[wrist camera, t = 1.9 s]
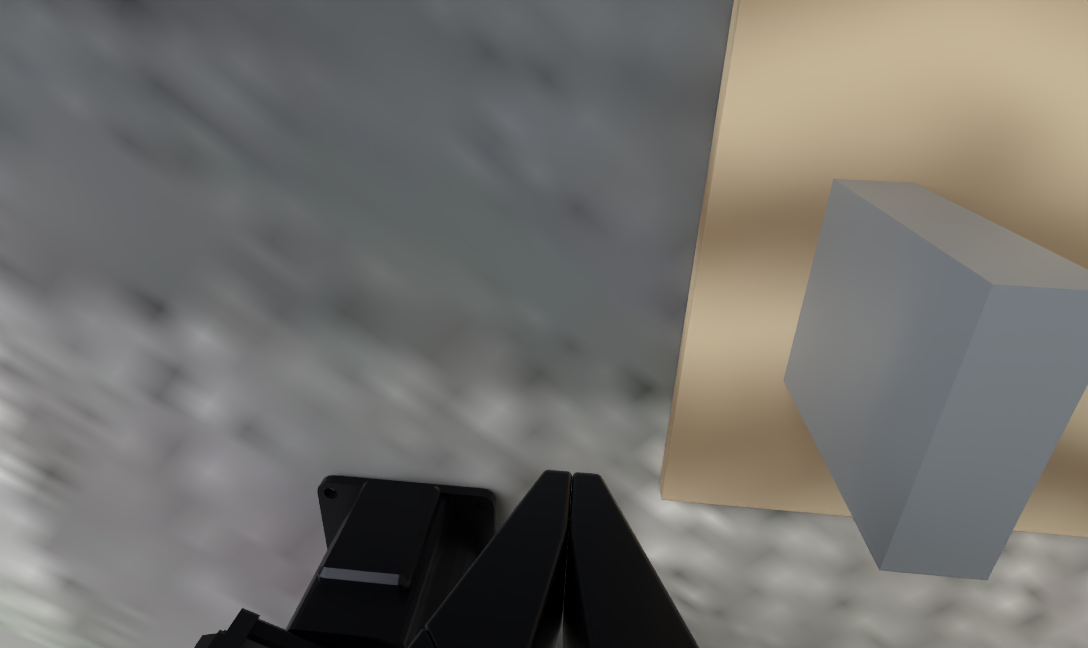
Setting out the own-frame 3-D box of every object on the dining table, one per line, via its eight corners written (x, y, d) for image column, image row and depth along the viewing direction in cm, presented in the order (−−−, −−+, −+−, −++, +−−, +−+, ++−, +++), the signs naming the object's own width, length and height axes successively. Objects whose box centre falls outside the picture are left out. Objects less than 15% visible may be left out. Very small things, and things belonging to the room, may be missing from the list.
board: (1144, 525, 20) (1164, 543, 19) (659, 483, 21) (661, 499, 20) (1576, -148, 12) (1639, -159, 11) (758, -162, 13) (767, -172, 12)
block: (857, 385, 18) (995, 581, 12) (783, 380, 18) (879, 569, 12) (921, 183, 15) (1145, 294, 9) (833, 178, 15) (993, 284, 9)
